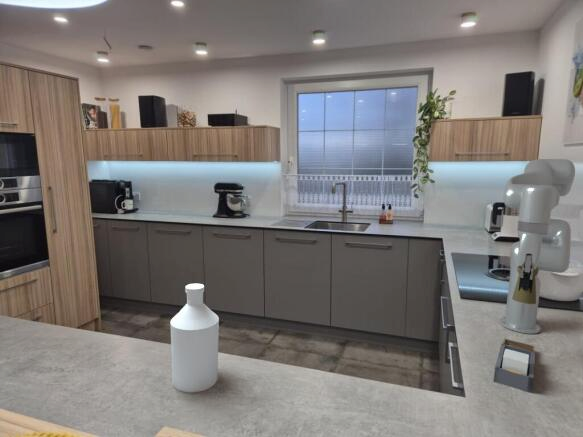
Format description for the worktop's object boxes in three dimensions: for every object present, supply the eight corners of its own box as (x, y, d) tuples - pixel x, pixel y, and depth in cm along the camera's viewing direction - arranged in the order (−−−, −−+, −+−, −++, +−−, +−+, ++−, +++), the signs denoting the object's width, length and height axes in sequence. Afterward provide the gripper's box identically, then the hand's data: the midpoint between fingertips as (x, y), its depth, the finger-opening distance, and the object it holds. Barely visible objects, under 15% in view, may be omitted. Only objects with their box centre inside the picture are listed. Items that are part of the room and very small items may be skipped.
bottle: (193, 399, 87) (193, 298, 84) (161, 382, 94) (159, 287, 90) (228, 376, 97) (228, 285, 94) (196, 362, 103) (196, 276, 100)
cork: (540, 305, 104) (545, 267, 103) (516, 302, 105) (521, 264, 104) (530, 299, 110) (535, 263, 109) (508, 296, 111) (513, 260, 110)
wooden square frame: (503, 344, 120) (504, 338, 120) (534, 352, 116) (534, 346, 115) (500, 354, 113) (501, 348, 113) (533, 363, 109) (534, 357, 108)
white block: (502, 371, 104) (505, 348, 103) (525, 378, 101) (528, 354, 100) (500, 380, 99) (503, 356, 98) (524, 388, 96) (528, 363, 95)
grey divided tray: (500, 355, 113) (501, 342, 112) (533, 364, 108) (535, 351, 107) (493, 381, 99) (495, 366, 98) (531, 392, 94) (533, 377, 93)
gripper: (519, 224, 115) (512, 281, 117) (515, 229, 101) (508, 294, 103) (548, 227, 110) (540, 286, 113) (548, 233, 97) (540, 300, 99)
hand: (525, 289), depth 108 cm, fingers closed on cork, 3 cm apart
